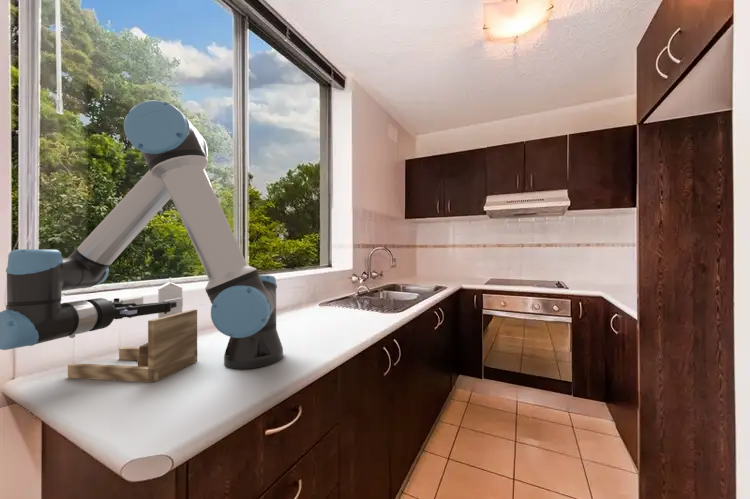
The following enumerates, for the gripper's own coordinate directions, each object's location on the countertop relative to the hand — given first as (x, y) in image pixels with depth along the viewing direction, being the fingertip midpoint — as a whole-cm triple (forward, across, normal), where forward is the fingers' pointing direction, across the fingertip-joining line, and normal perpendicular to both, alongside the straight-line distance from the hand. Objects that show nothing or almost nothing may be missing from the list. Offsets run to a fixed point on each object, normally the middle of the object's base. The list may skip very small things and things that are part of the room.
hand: (161, 301), depth 94 cm
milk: (+3, 0, -15) cm, 15 cm away
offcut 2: (-14, +12, -13) cm, 23 cm away
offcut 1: (-14, +12, -10) cm, 21 cm away
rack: (-14, +6, -15) cm, 21 cm away
